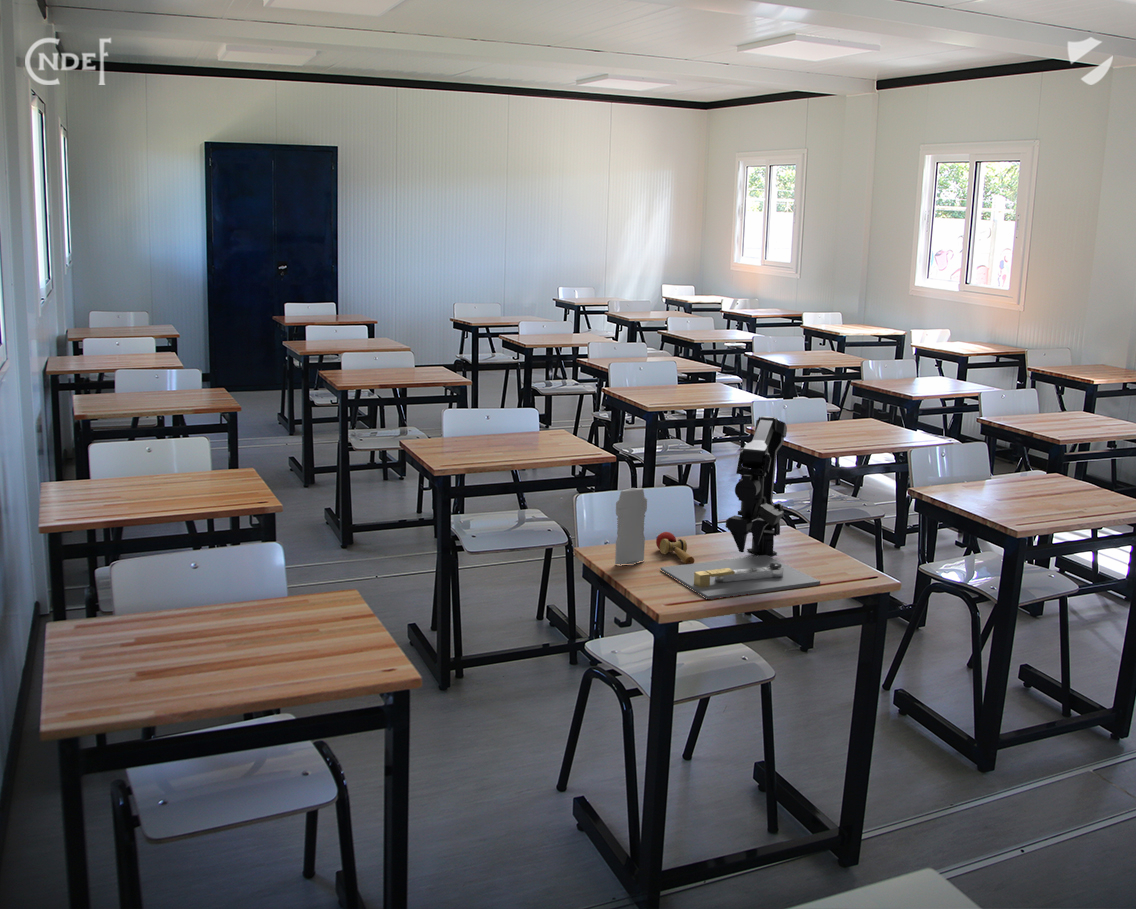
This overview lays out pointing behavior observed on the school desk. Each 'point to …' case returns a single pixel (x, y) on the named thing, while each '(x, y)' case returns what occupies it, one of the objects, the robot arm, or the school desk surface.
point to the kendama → (673, 546)
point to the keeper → (704, 577)
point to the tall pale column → (630, 526)
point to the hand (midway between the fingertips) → (749, 548)
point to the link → (751, 574)
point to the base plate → (742, 587)
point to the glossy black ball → (775, 565)
